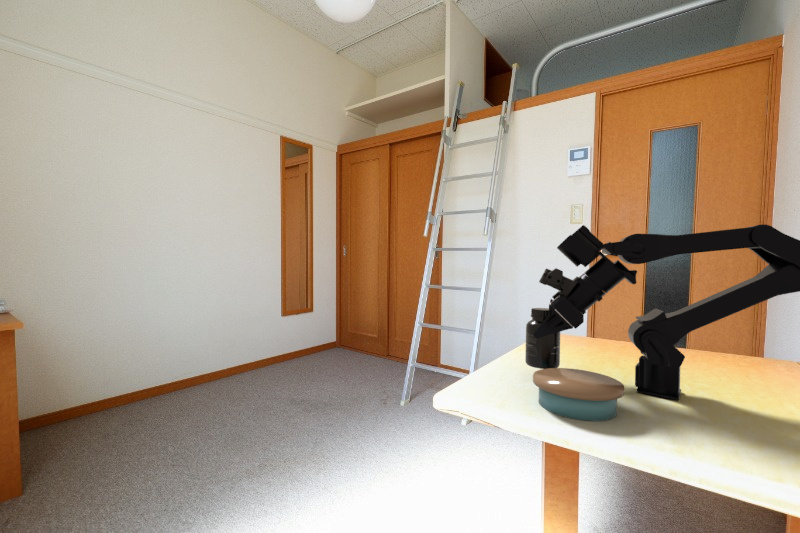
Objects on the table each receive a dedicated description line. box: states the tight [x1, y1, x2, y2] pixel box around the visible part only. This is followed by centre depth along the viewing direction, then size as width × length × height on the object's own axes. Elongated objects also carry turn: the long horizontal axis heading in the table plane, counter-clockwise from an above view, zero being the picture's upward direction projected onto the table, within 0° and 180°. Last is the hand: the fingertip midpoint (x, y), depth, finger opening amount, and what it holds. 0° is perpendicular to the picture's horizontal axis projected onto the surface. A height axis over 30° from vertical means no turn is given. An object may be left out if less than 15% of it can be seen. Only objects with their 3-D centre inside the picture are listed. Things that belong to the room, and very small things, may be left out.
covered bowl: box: [532, 367, 625, 422], centre depth 64 cm, size 14×14×4 cm
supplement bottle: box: [525, 307, 561, 370], centre depth 79 cm, size 7×7×12 cm
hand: (535, 333), depth 80 cm, fingers closed on supplement bottle, 7 cm apart
